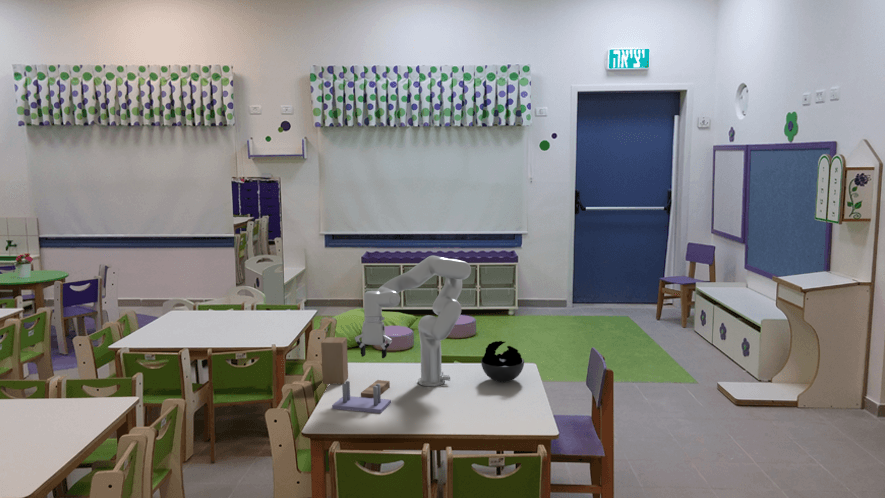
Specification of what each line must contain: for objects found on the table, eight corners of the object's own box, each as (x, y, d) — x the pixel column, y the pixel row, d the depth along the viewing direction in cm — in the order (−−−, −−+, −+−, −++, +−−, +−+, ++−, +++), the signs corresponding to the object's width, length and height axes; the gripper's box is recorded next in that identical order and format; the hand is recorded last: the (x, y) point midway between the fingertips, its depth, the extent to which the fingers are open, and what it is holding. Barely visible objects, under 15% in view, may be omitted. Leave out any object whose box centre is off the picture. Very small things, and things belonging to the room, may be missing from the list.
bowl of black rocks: (480, 374, 333) (480, 336, 331) (522, 374, 332) (522, 336, 330) (481, 388, 314) (481, 348, 311) (525, 388, 313) (525, 347, 310)
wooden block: (348, 377, 332) (346, 337, 330) (343, 384, 323) (341, 342, 320) (328, 377, 333) (326, 336, 331) (322, 384, 324) (320, 342, 321)
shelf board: (377, 387, 319) (377, 379, 319) (389, 388, 317) (389, 380, 317) (361, 400, 302) (360, 392, 302) (373, 401, 300) (373, 393, 300)
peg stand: (391, 403, 297) (390, 381, 296) (381, 413, 286) (380, 390, 284) (343, 398, 303) (343, 377, 302) (332, 408, 292) (331, 386, 290)
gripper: (394, 318, 306) (394, 356, 308) (358, 316, 311) (358, 353, 313) (388, 322, 299) (389, 360, 301) (351, 319, 304) (352, 357, 306)
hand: (373, 356), depth 307 cm, fingers open, 9 cm apart
